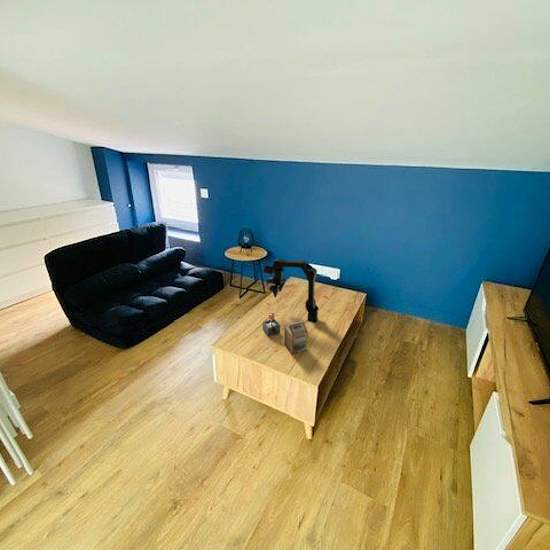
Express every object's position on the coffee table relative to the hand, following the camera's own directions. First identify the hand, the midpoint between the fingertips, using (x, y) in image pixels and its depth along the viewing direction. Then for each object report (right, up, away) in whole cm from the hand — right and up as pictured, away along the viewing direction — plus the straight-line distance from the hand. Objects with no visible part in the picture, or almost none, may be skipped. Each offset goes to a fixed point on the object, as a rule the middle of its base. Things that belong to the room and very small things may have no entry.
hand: (277, 294), depth 220 cm
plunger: (-4, -21, -20) cm, 29 cm away
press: (-4, -25, -19) cm, 31 cm away
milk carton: (+11, -32, -34) cm, 48 cm away
